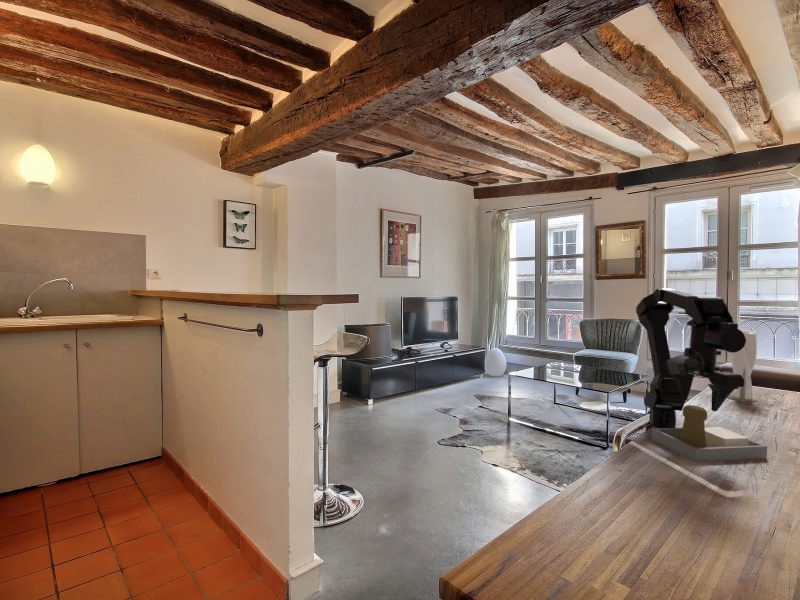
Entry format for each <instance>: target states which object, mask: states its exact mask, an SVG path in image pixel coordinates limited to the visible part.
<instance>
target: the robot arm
mask: <svg viewBox="0 0 800 600" xmlns="http://www.w3.org/2000/svg"><path fill="white" fill-rule="evenodd" d="M675 307H677V308H679V309H682V310H684V313H685V314H686V315H687V316H689V317H690V318H692V319H690V320H689V321H687V322H686V326H689V327H691V328H690V341H689V347H685V349H684V350H683V351H684V353H683V354H679V355H675V356H674V357H672V356H671V353H670V348H669V347H670V346H669V343H668V337H667V331H666V326H667V325H668V322H669V320H670V314H671V313H672V311H674V308H675ZM635 313H636V315H637V318H638V322H639V323H640V324H641V326H642V327H643V328H644V329H645V330H646V332H647V333H646V334H647V340H648V345H649V346H648V347H649V351H650V358H651V362H652V363H651V364H652V369H653V378H652V380H651V382H650V384H649V389H650V390H649V391H648V392H647V394H646V395H645V396H644V397H643V404H644V405H643V406H646V407H647V408H649V417H648V418H649V420H648V423H650V425H651V426H653V427H655V428H677V427H676V424H677V417H676V414H677V411H678V412H683V408H684V407H685V406H684V405H685V403H686V401H687V400H688V399H689V396H690V392H691V387H692V384H693V381H694V377H695V375H697V376H701V377H703V378H707V379H708V381H709V382H710V383H707V386H708V387H709V389H711V403H710V405H711V410H712V412H717V411H718V410H719V409H720V407H722V405H723V403H724V402H725V401H726V399H728V398H727V397H728V396H729V395H730V394H731V392H732V391H733V390H734V389H738V388H739V387H744V378H743V377H742V375H739V374H736V373H733V371H732V372H731V371H720V370H721V367H720V366H717V357H718V356H721V355H722V351H724V352H728V353H734V352H738V351H740V350H741V349H742V348H743V347H744V346H745V343H746V338H745V335H744V334H743V332H742V331H741V330H742V329H739V324H738V323H737V322H736V323H734V322H735V321H734V320H733V319H734V318H733V316H732V315H731V313H730V311H729V308H728V306H727V304H726V302H725V299H724V298H722V297H720V296H700V295H698V296H697V295H694V294H690V293H687V292H683V291H680V290H677V289H675V288H668V287H667V288H666V287H659V288H656V289H655V290H654V291H653V293H651V294H649V295H647V296H645V297H643V298H642V299H641V301H639V303H638V304H637V306H636V308H635Z"/></svg>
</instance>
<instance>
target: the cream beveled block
mask: <svg viewBox="0 0 800 600" xmlns="http://www.w3.org/2000/svg"><path fill="white" fill-rule="evenodd" d="M705 438H706V447H707V448H709V447H732V446H748V441H749V440H750V438H749V437H747V436H744V435H742V434H739V433H736V432H734V431H731V430H729V429H726V428H723V427H720V426H705Z"/></svg>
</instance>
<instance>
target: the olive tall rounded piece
mask: <svg viewBox="0 0 800 600" xmlns="http://www.w3.org/2000/svg"><path fill="white" fill-rule="evenodd" d="M682 415H683V417H684V420H683V425H682V427H681V428H682V432H681V436H680V441H683V442H685V443H687V444H689V445H691V446H693V447H695V448H706V438H705V427H706V426H705V421H706V420H707V418H708V411H707V410H706V409H705V408H704V407H702V406H698V405H693V404H692V405H691V404H690V405H689V404H688V405H685V406H683V409H682Z"/></svg>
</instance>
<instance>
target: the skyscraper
mask: <svg viewBox="0 0 800 600" xmlns="http://www.w3.org/2000/svg"><path fill="white" fill-rule="evenodd" d="M740 330H741V331H742V332H743V334H744V335H745V338H746V343H745V346H744V347H743V348H742V349H741V350H740V351H738V352H734V353H732V352H730V353H731V358H730V359H731V366H732V373H736V374H739V375H742V377H743V378H744V387H739V388H738V389H734V390H733V391H732V392H731V394H730V395H729V396H728V397H727V398H726V399H730V400H733V401H735V402H736V401H737V402H740V403H756V402H758V400H756V399H753V398H754V397H753V395H754V394H753V386H752V377H751V374H752V373H753V370H754V368H755V364H756V359H757V350H758V346H757V345H758V344H757V333H756V331H755V330H752V331H750V330H748V329H747V330H746V329H745V330H744V329H740Z"/></svg>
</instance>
